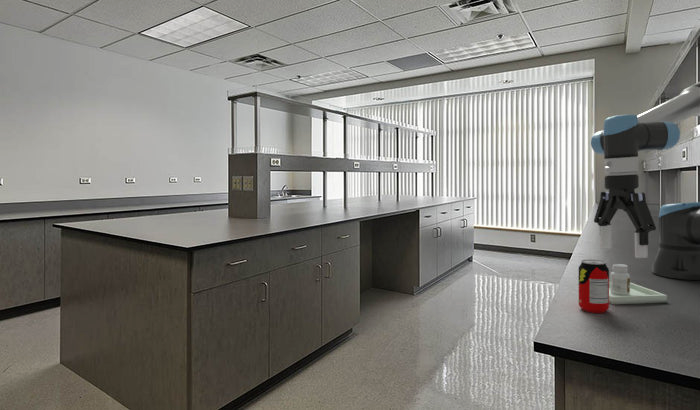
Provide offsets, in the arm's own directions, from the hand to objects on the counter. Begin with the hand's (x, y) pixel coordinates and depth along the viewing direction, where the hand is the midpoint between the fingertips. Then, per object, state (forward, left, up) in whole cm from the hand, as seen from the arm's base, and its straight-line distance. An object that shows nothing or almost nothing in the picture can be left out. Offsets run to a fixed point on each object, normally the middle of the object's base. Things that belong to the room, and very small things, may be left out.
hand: (622, 252), depth 108 cm
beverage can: (+15, +11, -12) cm, 22 cm away
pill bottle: (+1, 0, -11) cm, 11 cm away
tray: (0, 0, -12) cm, 12 cm away
